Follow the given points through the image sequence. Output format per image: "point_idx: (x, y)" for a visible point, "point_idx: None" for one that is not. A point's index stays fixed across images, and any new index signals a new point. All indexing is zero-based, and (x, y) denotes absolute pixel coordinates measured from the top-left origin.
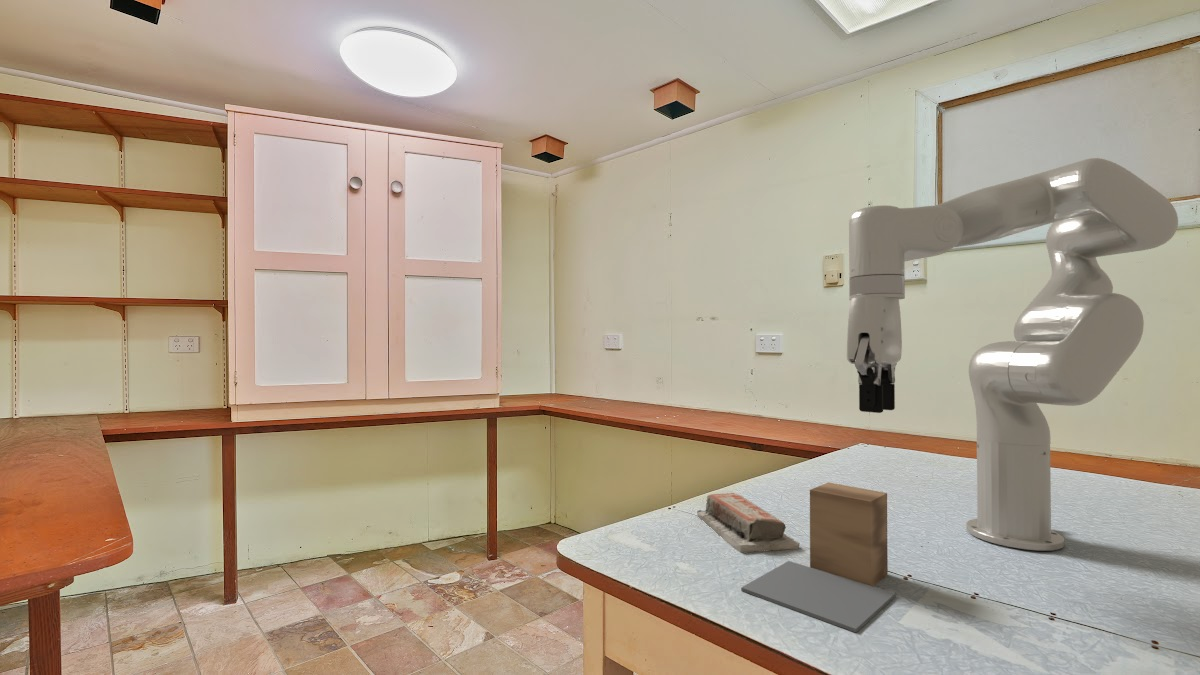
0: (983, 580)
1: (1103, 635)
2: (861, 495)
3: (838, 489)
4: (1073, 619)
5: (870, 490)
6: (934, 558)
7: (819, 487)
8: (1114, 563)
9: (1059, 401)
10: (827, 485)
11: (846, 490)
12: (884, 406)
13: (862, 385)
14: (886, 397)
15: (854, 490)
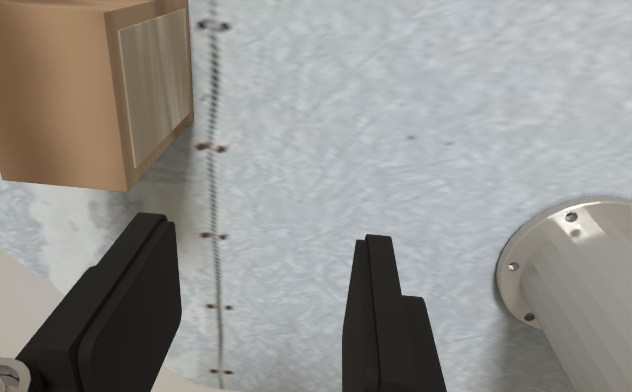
0: (289, 240)
1: (204, 341)
2: (39, 147)
3: (44, 73)
4: (228, 323)
5: (117, 151)
6: (347, 169)
7: (9, 13)
8: (504, 367)
9: None
10: (58, 26)
11: (53, 97)
12: (348, 311)
13: (46, 364)
14: (347, 370)
15: (77, 115)
